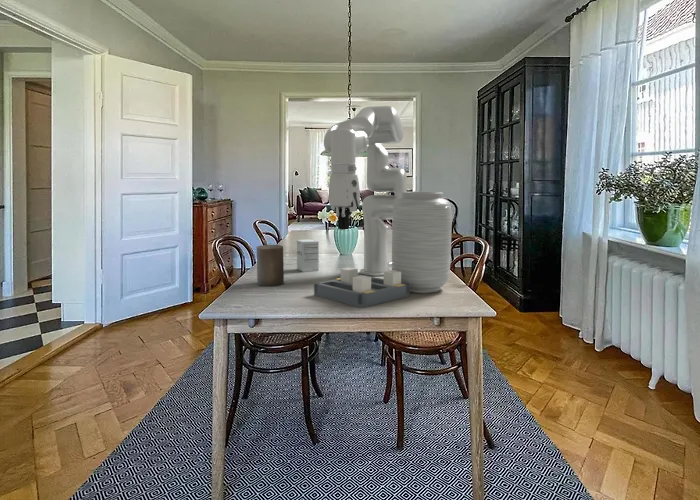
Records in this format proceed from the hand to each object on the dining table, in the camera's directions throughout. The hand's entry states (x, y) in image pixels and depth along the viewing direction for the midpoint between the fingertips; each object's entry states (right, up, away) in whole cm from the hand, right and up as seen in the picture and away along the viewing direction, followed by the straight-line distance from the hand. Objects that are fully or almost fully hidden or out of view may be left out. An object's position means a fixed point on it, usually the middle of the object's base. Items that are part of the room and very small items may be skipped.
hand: (343, 229), depth 153 cm
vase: (+27, -20, +18) cm, 38 cm away
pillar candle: (-27, -19, +24) cm, 41 cm away
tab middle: (+2, -20, +10) cm, 22 cm away
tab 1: (+6, -22, -4) cm, 23 cm away
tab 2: (+16, -21, +6) cm, 26 cm away
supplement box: (-16, -15, +51) cm, 56 cm away
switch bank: (+6, -22, +6) cm, 23 cm away
